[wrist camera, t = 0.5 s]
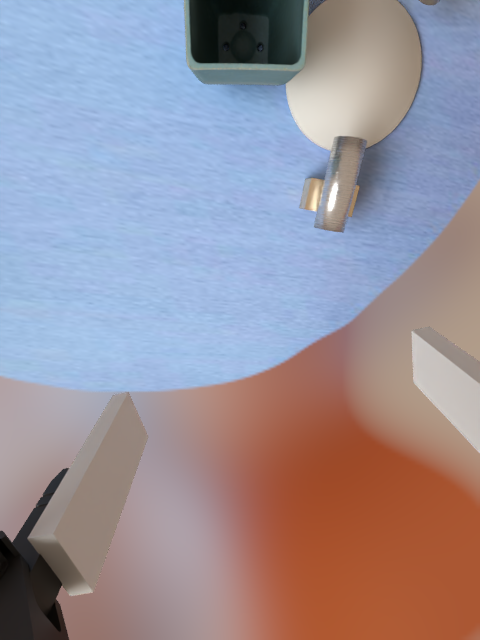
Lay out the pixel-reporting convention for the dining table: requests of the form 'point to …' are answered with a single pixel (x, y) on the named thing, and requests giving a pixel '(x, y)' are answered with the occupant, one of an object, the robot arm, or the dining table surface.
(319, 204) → the shaft
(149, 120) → the dining table surface
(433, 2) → the shaft
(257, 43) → the flower pot
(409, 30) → the seat pad
